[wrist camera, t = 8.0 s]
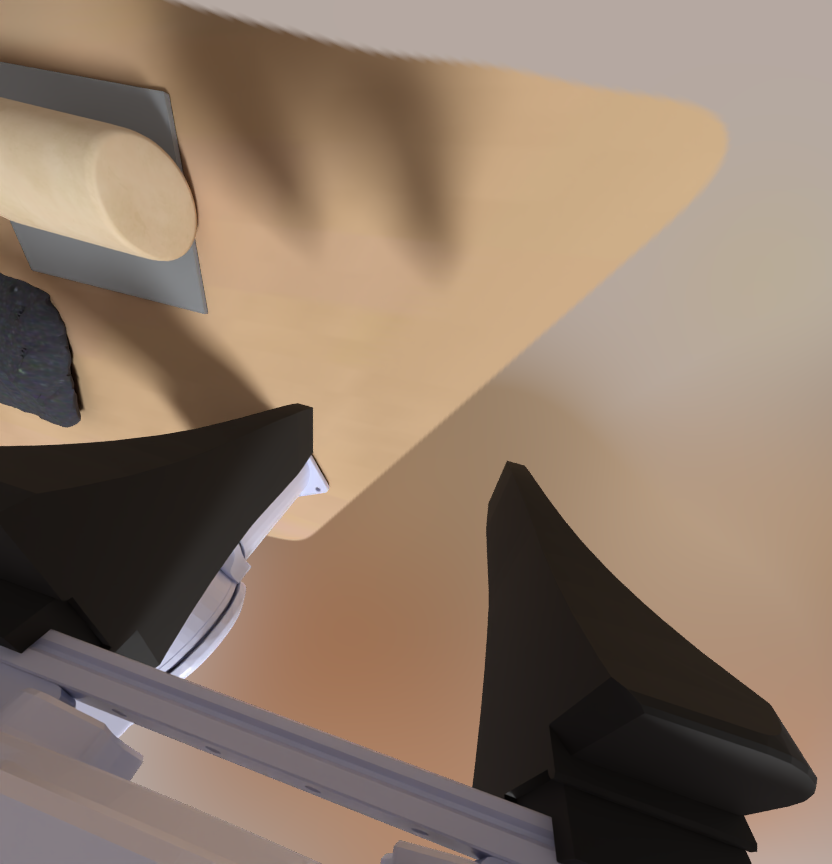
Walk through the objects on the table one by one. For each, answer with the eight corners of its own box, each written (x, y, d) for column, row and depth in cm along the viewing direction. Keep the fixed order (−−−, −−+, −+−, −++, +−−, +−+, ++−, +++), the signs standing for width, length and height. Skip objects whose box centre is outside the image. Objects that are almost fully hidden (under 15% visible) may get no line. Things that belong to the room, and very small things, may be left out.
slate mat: (169, 94, 15) (163, 91, 15) (208, 313, 21) (204, 313, 21) (-58, 53, 17) (-66, 49, 16) (36, 270, 22) (31, 270, 22)
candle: (188, 279, 18) (49, 240, 19) (207, 187, 18) (63, 151, 18) (79, 224, 13) (-110, 173, 14) (101, 89, 12) (-97, 43, 13)
